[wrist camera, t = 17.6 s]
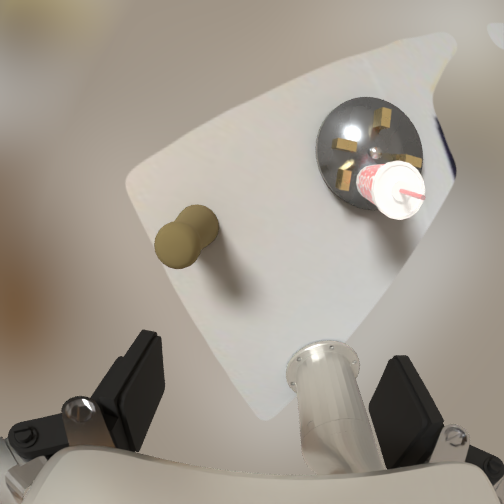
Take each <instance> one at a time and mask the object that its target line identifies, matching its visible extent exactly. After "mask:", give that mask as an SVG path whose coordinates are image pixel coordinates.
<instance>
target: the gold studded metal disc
mask: <svg viewBox="0 0 504 504" xmlns="http://www.w3.org/2000/svg"><path fill="white" fill-rule="evenodd" d="M316 159H317V164H318V167H319V170H320V173H321V175H322V177H323V179H324V181H325V182H326V184H327V185H328V186H329V188H330V189H331V190H332V191H333V192H334V193H335V194H336V195H337V196H339V197H340V198H341V199H343V200H344V201H346V202H348V203H350V204H351V205H354V206H356V207H359V208H363V209H369V210H379V209H378V208H377V206H376V205H375V204H373V203H372V202H370V201H369V200H367V199H366V198H365V197H363V196H362V195H361V194H360V193H359V191H358V189H357V185H356V180H357V175H358V174H359V172H360V170H361V169H363V168H364V167H365V166H370V165H378V164H386V163H388V162H393V161H403V162H407V163H410V164H411V165H412V166H414V167H415V168H416V169H417V170H418V171H419V173H420V174H421V169H422V163H423V151H422V145H421V141H420V138H419V135H418V133H417V130H416V129H415V127H414V125H413V123H412V122H411V121H410V119H409V118H408V117H407V116H406V115H405V114H404V113H403V112H402V111H401V110H400V109H399V108H397V107H396V106H394V105H393V104H391V103H389V102H387V101H384V100H381V99H378V98H373V97H360V98H355V99H351V100H349V101H346V102H344V103H342V104H341V105H339V106H338V107H336V108H335V109H334V110H333V111H331V113H330V114H329V115H328V116H327V117H326V118H325V120H324V121H323V123H322V125H321V127H320V129H319V132H318V135H317V140H316Z"/></svg>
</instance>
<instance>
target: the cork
mask: <svg viewBox="0 0 504 504" xmlns="http://www.w3.org/2000/svg"><path fill="white" fill-rule="evenodd" d="M218 230H219V225H218V220H217V218H216V215H215V214H214V213H213V212H212V211H211V210H210V209H209V208H207V207H205V206H202V205H191V206H189V207H186V208H185V209H184V210H183V211H182V212H181V213H180V214H179V215H178V217H177V218H176V220H175V221H174V222H171V223H168V224H166V225H164V226H163V227H162V228H161V229H160V230H159V232H158V234H157V236H156V238H155V244H154V247H155V252H156V254H157V256H158V258H159V259H160V261H161V262H162V263H163V264H165V265H166V266H168V267H170V268H174V269H183V268H185V267H188V266H191V265H192V264H193V263H194V262H195V261H196V260H197V258H198V256H199V255H200V252H201V249H203V248H204V247H206V246H208V245H209V244H210V243H211V242H213V241H214V240H215V238H216V236H217V234H218Z"/></svg>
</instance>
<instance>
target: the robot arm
mask: <svg viewBox="0 0 504 504" xmlns="http://www.w3.org/2000/svg"><path fill="white" fill-rule="evenodd" d="M359 369H360V363H359V359H358V356H357V354H356V353H355V351H354V350H353V349H352V348H351V347H350V346H348V345H346V344H344V343H342V342H338V341H320V342H315V343H312V344H310V345H307V346H305V347H304V348H302V349H300V350H299V351H298V352H296V353H295V355H294V356H293V357H292V358H291V359H290V361H289V363H288V365H287V369H286V379H287V382H288V385H289V386H290V388H291V389H292V390H293V391H294V392H296V393H297V399H298V410H299V423H300V436H301V449H302V456H303V459H304V461H305V462H306V464H307V466H308V467H309V468H310V469H311V470H312V471H313V472H315V473H316V474H317V475H276V474H258V473H246V472H237V471H229V470H221V469H214V468H208V467H201V466H195V465H190V464H185V463H179V462H175V461H170V460H165V459H161V458H156V457H153V456H149V455H144V454H140V453H136V452H139V450H140V448H141V446H142V444H143V441H144V439H145V436H146V434H147V431H148V429H149V426H150V424H151V422H152V419H153V417H154V414H155V412H156V410H157V407H158V405H159V402H160V400H161V398H162V395H163V393H164V390H165V380H164V368H163V355H162V342H161V337H160V336H157V333H156V332H153V331H148V330H142V331H141V332H140V334H139V335H138V336H137V338H136V339H135V341H134V343H133V344H132V345H131V347H130V348H129V350H128V351H127V353H126V354H125V356H124V357H122V356H120V357H118V358H117V359H116V361H115V362H114V364H113V365H112V367H111V368H110V369H109V371H108V372H107V374H106V375H105V377H104V378H103V380H102V381H101V383H100V384H99V386H98V387H97V389H96V390H95V392H94V393H93V395H92V396H91V398H89V397H85V396H75V397H72V398H70V399H69V400H67V401H66V402H65V403H64V404H63V406H62V409H61V412H62V413H60V414H56V415H52V416H47V417H43V418H38V419H33V420H29V421H24V422H20V423H17V424H15V425H14V426H12V428H11V429H10V431H9V434H8V437H7V438H5V439H3V437H0V504H504V464H503V462H502V461H501V460H500V459H499V458H498V457H496V456H494V455H491V454H489V453H487V452H485V451H483V450H480V449H478V448H476V447H473V446H471V445H469V444H470V436H469V434H468V432H467V431H466V430H465V429H464V428H463V427H461V426H459V425H456V424H449V425H447V426H444V424H443V422H444V420H443V418H442V416H441V414H440V412H439V410H438V408H437V407H436V405H435V403H434V401H433V399H432V397H431V396H430V394H429V392H428V390H427V389H426V387H425V385H424V383H423V381H422V379H421V378H420V376H419V374H418V373H417V371H416V369H415V367H414V366H413V364H412V362H411V361H410V359H409V357H408V356H406V355H401V356H399V355H396V356H394V357H393V358H392V359H390V360H389V361H388V364H387V366H386V368H385V370H384V373H383V375H382V377H381V380H380V382H379V384H378V386H377V388H376V391H375V393H374V395H373V397H372V399H371V401H370V403H369V412H370V416H371V419H372V422H373V425H374V428H375V432H376V435H377V438H378V442H379V445H380V448H381V452H382V455H383V459H384V462H385V465H386V468H387V470H386V469H385V467H384V464H383V462H382V460H381V457H380V454H379V452H378V449H377V446H376V443H375V439H374V436H373V433H372V430H371V426H370V423H369V420H368V416H367V413H366V410H365V407H364V404H363V400H362V397H361V394H360V391H359V388H358V385H357V382H356V377H357V376H358V373H359ZM135 451H136V452H135ZM30 485H31V487H30V488H29V490H28V492H27V494H26V496H25V497H24V498H23V493H24V491H25V489H26V488H27V487H29V486H30Z"/></svg>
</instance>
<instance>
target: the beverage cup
mask: <svg viewBox="0 0 504 504" xmlns="http://www.w3.org/2000/svg"><path fill="white" fill-rule="evenodd" d="M356 185H357V189H358V191H359V193H360V194H361V195H362V196H363V197H365V198H366V199H367V200H369V201H370V202H372V203H373V204H375V205H376V206H377V208H378V209H379V211H381V212H382V213H383V214H385V215H386V216H388V217H389V218H392V219H397V220H402V219H406V218H410V217H411V216H412V215H414V214H415V213H416V212H417V211H418V210H419V208H420V206H421V205H422V203H423V200H425V196H424V194H425V187H424V181H423V178H422V176H421V174H420V173H419V171H418V170H417V169H416V168H415V167H414V166H412V165H411V164H410V163H407V162H403V161H393V162H388V163H386V164H378V165H370V166H365V167H364V168H363V169H361V170H360V172H359V174H358V175H357V180H356Z"/></svg>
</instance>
